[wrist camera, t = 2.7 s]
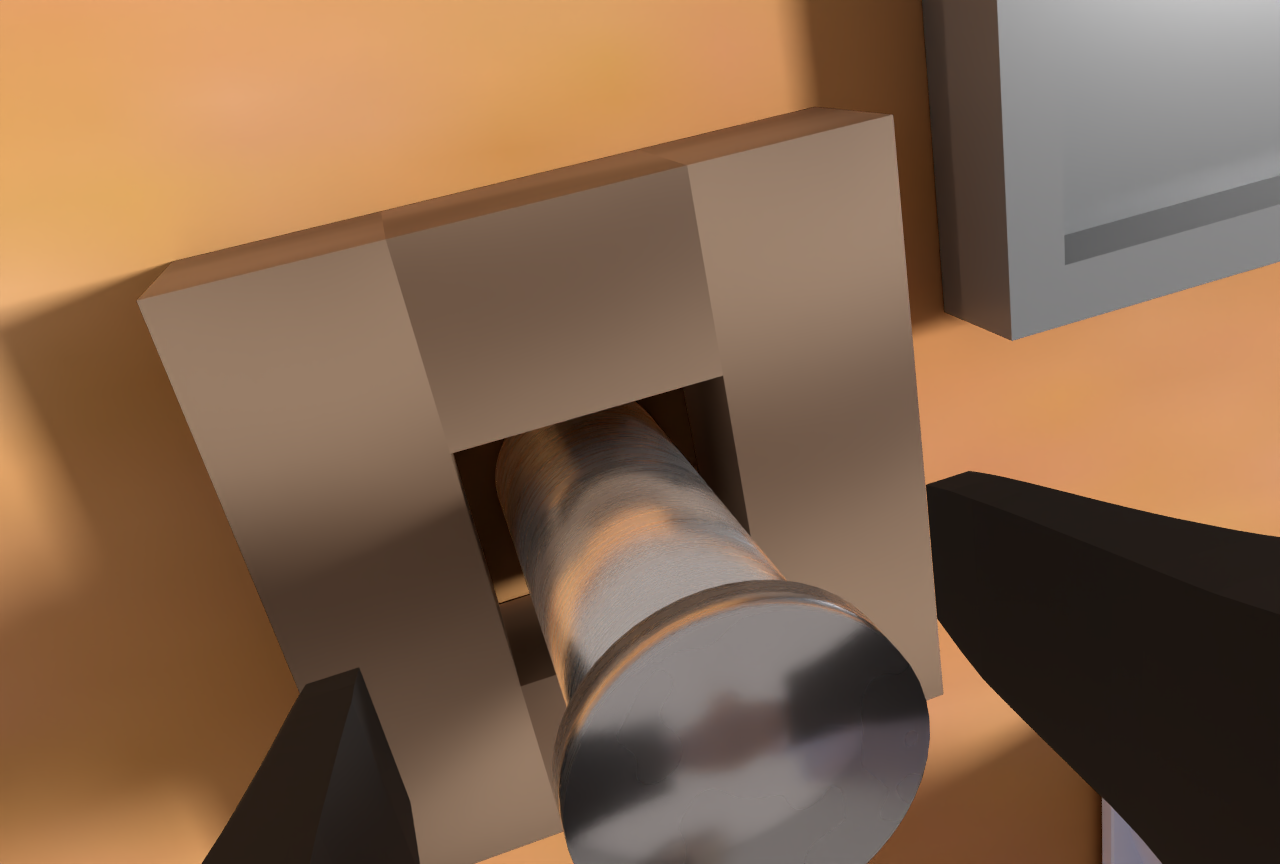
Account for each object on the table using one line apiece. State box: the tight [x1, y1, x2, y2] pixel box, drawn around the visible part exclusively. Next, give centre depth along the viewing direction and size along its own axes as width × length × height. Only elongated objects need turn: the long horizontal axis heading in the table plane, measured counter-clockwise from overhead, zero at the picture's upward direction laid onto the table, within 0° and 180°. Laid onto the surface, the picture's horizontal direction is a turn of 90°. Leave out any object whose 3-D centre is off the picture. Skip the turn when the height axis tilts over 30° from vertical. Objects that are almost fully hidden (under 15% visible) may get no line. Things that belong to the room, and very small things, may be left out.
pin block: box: [137, 107, 943, 864], centre depth 16 cm, size 10×10×2 cm
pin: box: [495, 401, 930, 864], centre depth 13 cm, size 4×4×8 cm
